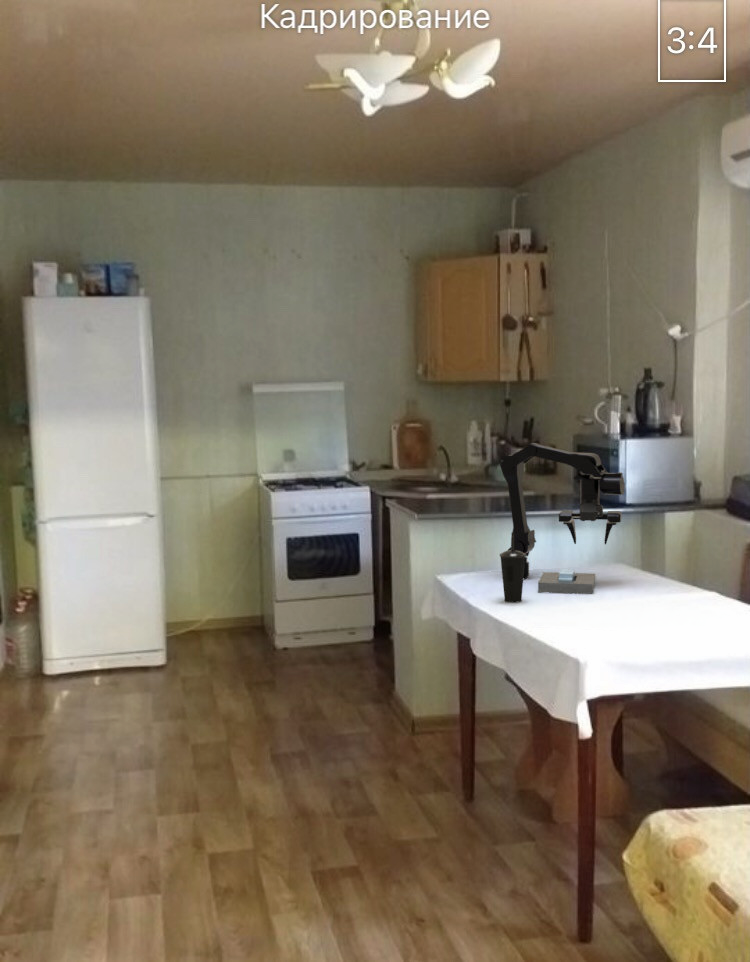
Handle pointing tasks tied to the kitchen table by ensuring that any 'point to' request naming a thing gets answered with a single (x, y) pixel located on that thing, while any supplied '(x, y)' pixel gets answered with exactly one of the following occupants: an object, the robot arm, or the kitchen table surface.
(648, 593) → the kitchen table surface
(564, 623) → the kitchen table surface
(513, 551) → the drinking cup
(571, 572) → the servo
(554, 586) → the grey square base plate
